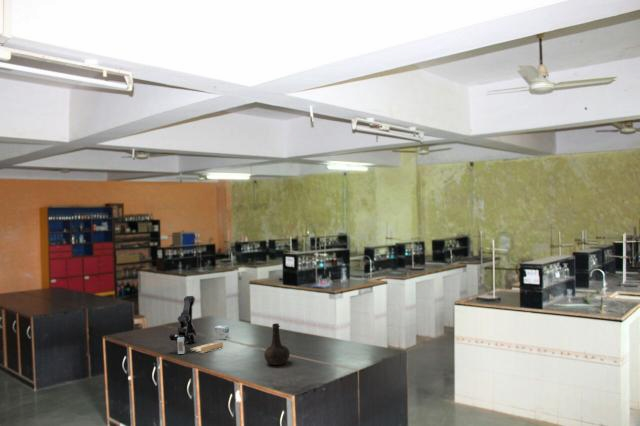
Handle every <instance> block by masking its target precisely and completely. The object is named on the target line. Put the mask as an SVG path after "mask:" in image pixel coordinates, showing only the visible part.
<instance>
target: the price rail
mask: <svg viewBox="0 0 640 426" xmlns="http://www.w3.org/2000/svg"><path fill="white" fill-rule="evenodd" d="M220 346H223V347H224V342H223V341H220V342H217V343H213V344H212V345H208V346H205V347H201V352H202V351H206V350H209V349H213V348H217V347H220Z"/></svg>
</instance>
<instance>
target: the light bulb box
mask: <svg viewBox="0 0 640 426" xmlns="http://www.w3.org/2000/svg"><path fill="white" fill-rule="evenodd" d="M214 338H219V339H226V340H228V339H227V338H229V339H230V326H229V325H217V326H215V327H214Z"/></svg>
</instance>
